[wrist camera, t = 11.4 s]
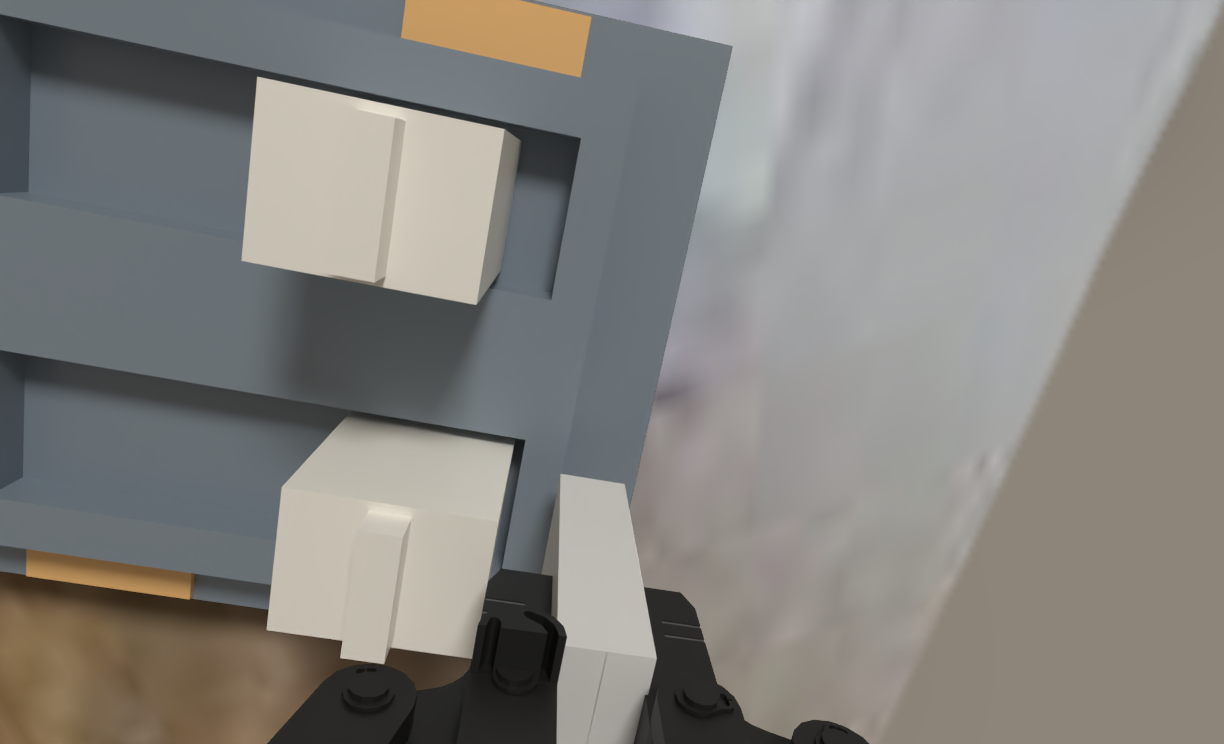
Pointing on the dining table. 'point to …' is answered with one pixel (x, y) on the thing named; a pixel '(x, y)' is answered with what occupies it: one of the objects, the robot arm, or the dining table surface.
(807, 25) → the dining table surface
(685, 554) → the dining table surface
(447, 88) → the switch board
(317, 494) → the tab
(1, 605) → the dining table surface
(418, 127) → the tab
